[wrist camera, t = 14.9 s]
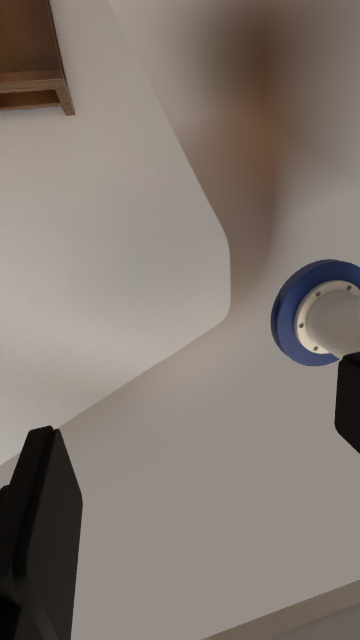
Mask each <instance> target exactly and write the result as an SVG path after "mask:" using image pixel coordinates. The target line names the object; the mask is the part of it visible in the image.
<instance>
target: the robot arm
mask: <svg viewBox="0 0 360 640" xmlns="http://www.w3.org/2000/svg"><path fill="white" fill-rule="evenodd" d="M294 331H295V335H296V337H297V339H298V341H299V342H300V344H301V345H302V346H303V347H305V348H306V349H308V350H309V351H311V352H314V353H319V354H325V353H331V354H333V355H334V356H336V357H338V358H339V359H341V361H340V362H339V366H338V380H337V394H336V409H335V422H334V423H335V428H336V430H337V432H338V433H339V434H340V435H341V436H342V437H343V438H344V439H345V440H346V441H347V442H348V443H349V444H350V445H351V446H352V447H353V448H354V449H355V450H356V451H357V452H358V453H360V290H359V289H358V288H357V287H356V286H355V285H353V284H351V283H349V282H346V281H342V280H331V281H326V282H324V283H321V284H319V285H318V286H316V287H314V288H313V289H312V290H311V291H310V292H308V293H307V295H306V296H305V297H304V298H303V300H302V301H301V303H300V304H299V306H298V309H297V311H296V314H295V319H294ZM82 503H83V502H82V494H81V491H80V488H79V485H78V482H77V479H76V476H75V474H74V470H73V468H72V464H71V462H70V459H69V456H68V453H67V450H66V447H65V444H64V441H63V438H62V435H61V432H60V430H59V429H55V430H53V428H52V426H46V427H42V428H37V429H33V430H30V431H29V433H28V435H27V438H26V440H25V443H24V446H23V449H22V451H21V454H20V457H19V460H18V463H17V465H16V468H15V470H14V473H13V476H12V479H11V481H10V484H9V485H6V486H3V487H2V488H1V489H0V640H71V628H72V617H73V606H74V594H75V585H76V574H77V562H78V551H79V541H80V529H81V518H82V507H83V504H82ZM202 640H360V580H358V581H356V582H353V583H350V584H347V585H345V586H342V587H339V588H337V589H334V590H331V591H329V592H326V593H323V594H321V595H318V596H315V597H313V598H310V599H307V600H305V601H302V602H299V603H297V604H294V605H292V606H289V607H286V608H283V609H281V610H278V611H276V612H273V613H271V614H268V615H265V616H262V617H260V618H257V619H255V620H252V621H249V622H247V623H244V624H242V625H239V626H237V627H234V628H231V629H228V630H226V631H223V632H221V633H218V634H215V635H213V636H210V637H207V638H205V639H202Z"/></svg>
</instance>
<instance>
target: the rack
mask: <svg viewBox="0 0 360 640" xmlns="http://www.w3.org/2000/svg"><path fill="white" fill-rule="evenodd" d="M55 106H62V107H63V109H64V111H65V114H66V115H67V116H68V115H75V111H74V106H73V103H72V100H71V97H70V94H69V89H68V85H67V80H66V75H65V71H64V66H63V62H62V57H61V52H60V48H59V43H58V38H57V34H56V29H55V24H54V20H53V15H52V11H51V6H50V1H49V0H0V111H6V110H18V109H31V108H43V107H55Z"/></svg>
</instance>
